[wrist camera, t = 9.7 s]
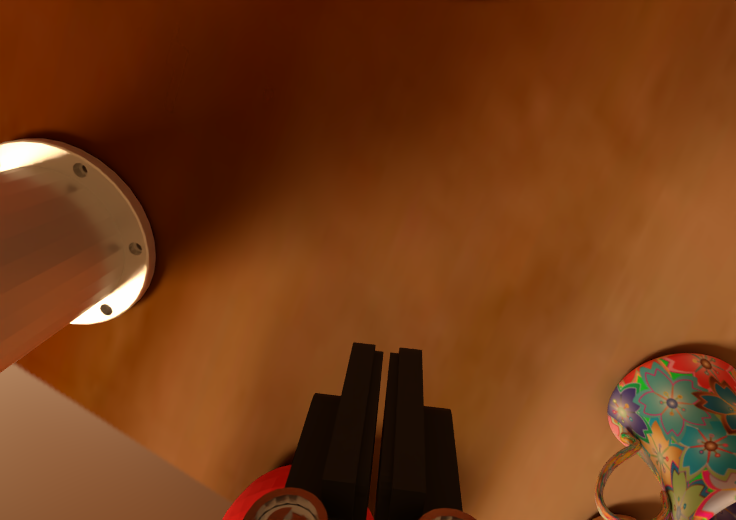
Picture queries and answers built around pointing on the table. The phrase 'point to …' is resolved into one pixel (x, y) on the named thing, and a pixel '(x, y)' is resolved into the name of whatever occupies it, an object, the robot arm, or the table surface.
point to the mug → (679, 434)
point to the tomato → (262, 493)
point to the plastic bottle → (626, 518)
